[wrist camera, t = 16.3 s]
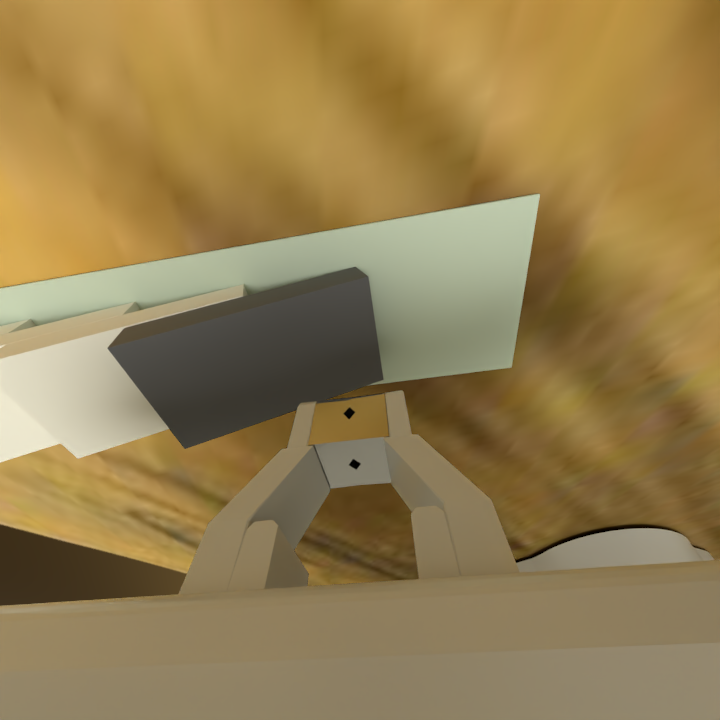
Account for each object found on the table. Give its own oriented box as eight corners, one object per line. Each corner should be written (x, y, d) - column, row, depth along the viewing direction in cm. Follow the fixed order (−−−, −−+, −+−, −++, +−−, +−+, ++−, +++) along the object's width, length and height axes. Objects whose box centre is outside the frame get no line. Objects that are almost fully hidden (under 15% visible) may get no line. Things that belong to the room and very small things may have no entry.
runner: (509, 365, 15) (511, 367, 15) (-17, 431, 18) (-21, 433, 18) (537, 193, 11) (540, 193, 11) (-166, 317, 14) (-173, 319, 14)
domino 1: (183, 404, 15) (-26, 470, 13) (189, 386, 16) (-1, 444, 14) (122, 314, 12) (-153, 384, 10) (135, 301, 13) (-108, 362, 12)
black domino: (383, 379, 14) (184, 448, 12) (371, 362, 15) (190, 423, 13) (368, 276, 11) (107, 348, 9) (355, 266, 12) (124, 327, 11)
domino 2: (282, 392, 14) (77, 458, 13) (279, 374, 15) (94, 433, 14) (242, 295, 11) (-27, 365, 10) (243, 284, 13) (6, 344, 11)
